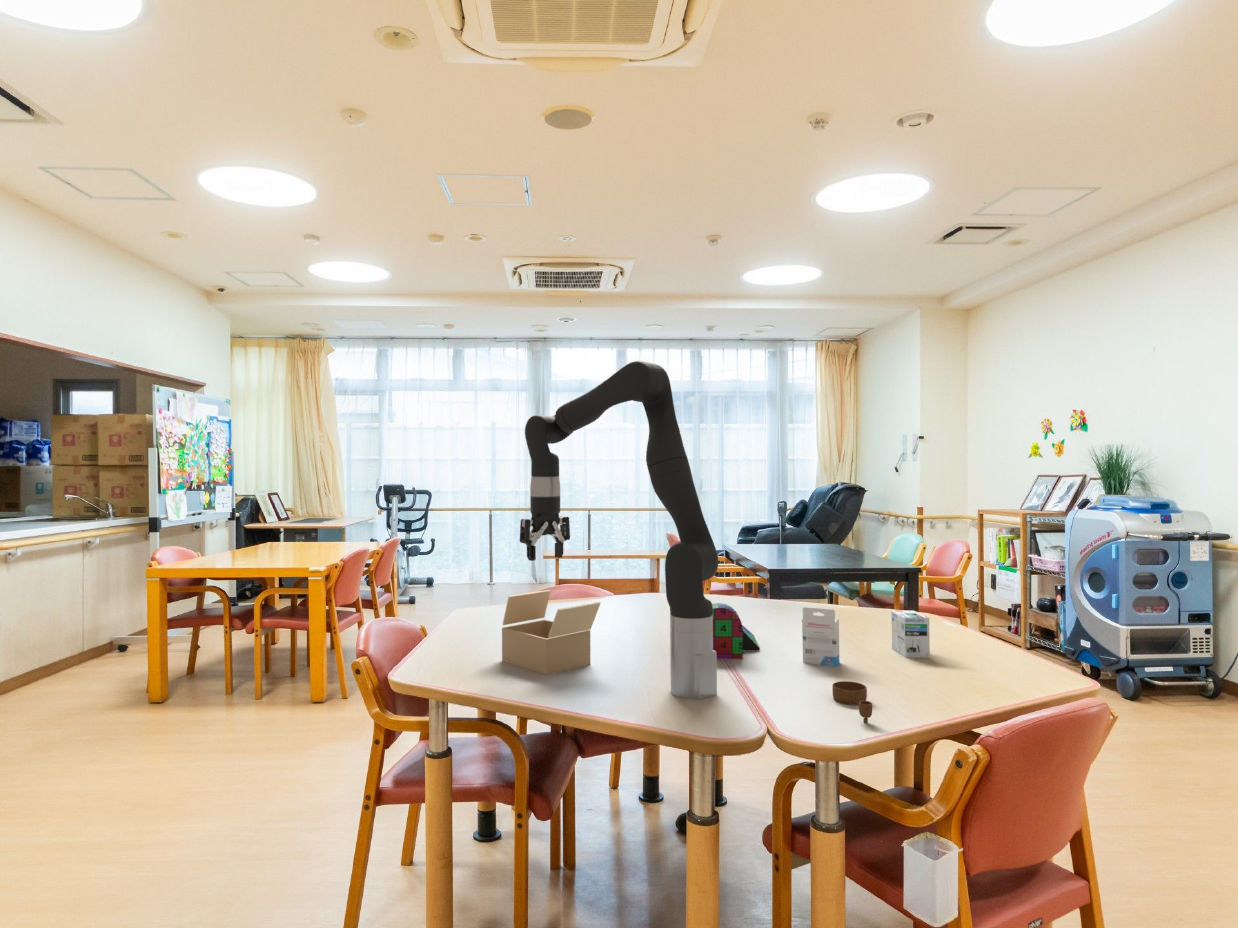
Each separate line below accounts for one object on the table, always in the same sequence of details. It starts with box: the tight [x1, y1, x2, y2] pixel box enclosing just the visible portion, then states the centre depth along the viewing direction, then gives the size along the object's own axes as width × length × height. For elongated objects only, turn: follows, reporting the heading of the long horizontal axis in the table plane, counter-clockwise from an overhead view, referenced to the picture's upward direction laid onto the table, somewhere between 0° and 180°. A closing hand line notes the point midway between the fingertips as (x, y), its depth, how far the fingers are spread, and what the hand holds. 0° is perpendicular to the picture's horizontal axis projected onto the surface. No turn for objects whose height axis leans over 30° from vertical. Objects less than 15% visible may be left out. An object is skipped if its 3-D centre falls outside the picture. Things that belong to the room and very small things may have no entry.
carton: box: [501, 619, 591, 675], centre depth 185 cm, size 18×14×10 cm
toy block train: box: [712, 602, 761, 660], centre depth 204 cm, size 25×17×14 cm
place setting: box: [832, 680, 873, 724], centre depth 152 cm, size 18×20×6 cm
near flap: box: [548, 601, 601, 638], centre depth 177 cm, size 8×13×1 cm
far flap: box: [502, 589, 551, 626], centre depth 191 cm, size 8×13×1 cm
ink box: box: [801, 606, 840, 667], centre depth 187 cm, size 9×5×15 cm, turn 62°
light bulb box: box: [890, 609, 931, 659], centre depth 198 cm, size 11×7×11 cm, turn 179°
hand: (545, 558), depth 185 cm, fingers open, 8 cm apart
